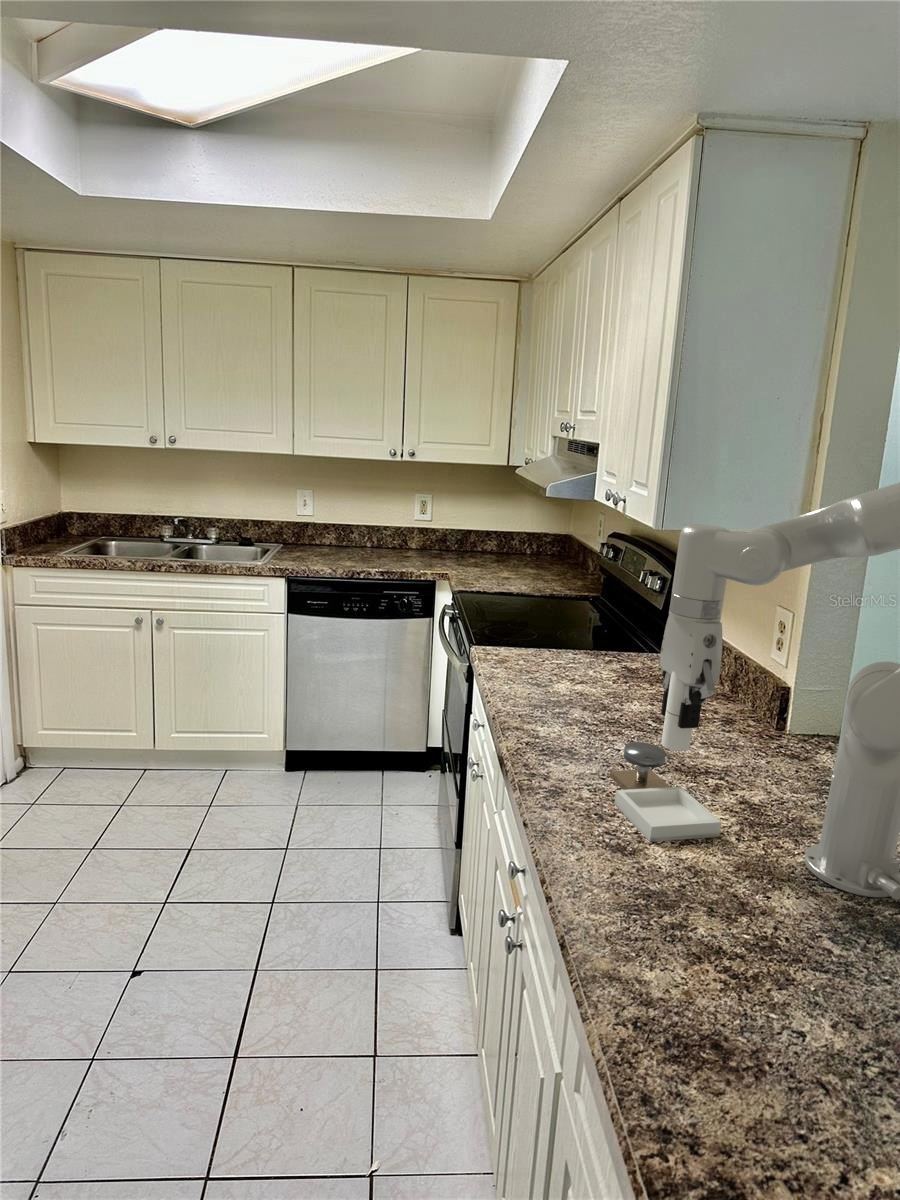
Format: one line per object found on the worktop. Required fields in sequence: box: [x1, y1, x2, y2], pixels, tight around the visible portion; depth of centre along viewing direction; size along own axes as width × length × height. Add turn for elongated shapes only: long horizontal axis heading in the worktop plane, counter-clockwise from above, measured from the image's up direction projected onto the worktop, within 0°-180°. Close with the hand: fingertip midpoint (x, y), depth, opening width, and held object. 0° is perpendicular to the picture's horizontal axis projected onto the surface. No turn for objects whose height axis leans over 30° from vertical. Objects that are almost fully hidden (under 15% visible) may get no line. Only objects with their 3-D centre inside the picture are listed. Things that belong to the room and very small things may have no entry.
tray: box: [613, 786, 722, 843], centre depth 124 cm, size 12×12×2 cm
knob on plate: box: [609, 741, 671, 790], centre depth 135 cm, size 8×8×7 cm
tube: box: [660, 671, 698, 752], centre depth 120 cm, size 4×4×15 cm
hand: (679, 719), depth 120 cm, fingers closed on tube, 4 cm apart
